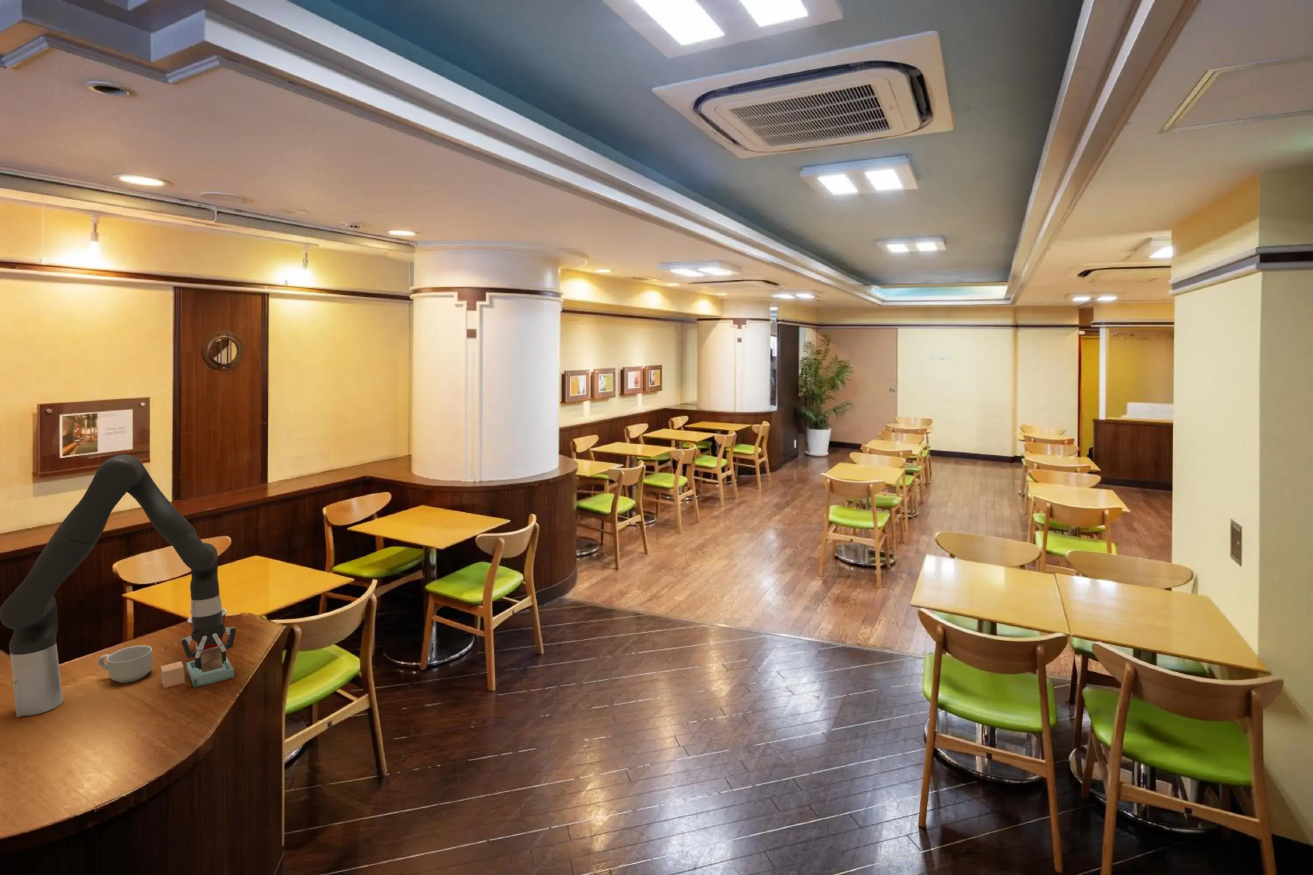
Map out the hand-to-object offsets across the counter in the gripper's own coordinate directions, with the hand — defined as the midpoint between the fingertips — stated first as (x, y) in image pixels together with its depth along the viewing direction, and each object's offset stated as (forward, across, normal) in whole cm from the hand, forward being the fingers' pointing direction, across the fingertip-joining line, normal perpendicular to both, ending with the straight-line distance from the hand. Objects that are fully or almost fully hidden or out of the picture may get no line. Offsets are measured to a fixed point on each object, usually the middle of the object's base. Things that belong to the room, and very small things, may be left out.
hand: (211, 665), depth 198 cm
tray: (+4, 0, +4) cm, 5 cm away
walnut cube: (0, 0, 0) cm, 0 cm away
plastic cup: (+4, +3, +24) cm, 25 cm away
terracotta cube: (+4, -9, +4) cm, 11 cm away
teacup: (+4, -19, +18) cm, 26 cm away
